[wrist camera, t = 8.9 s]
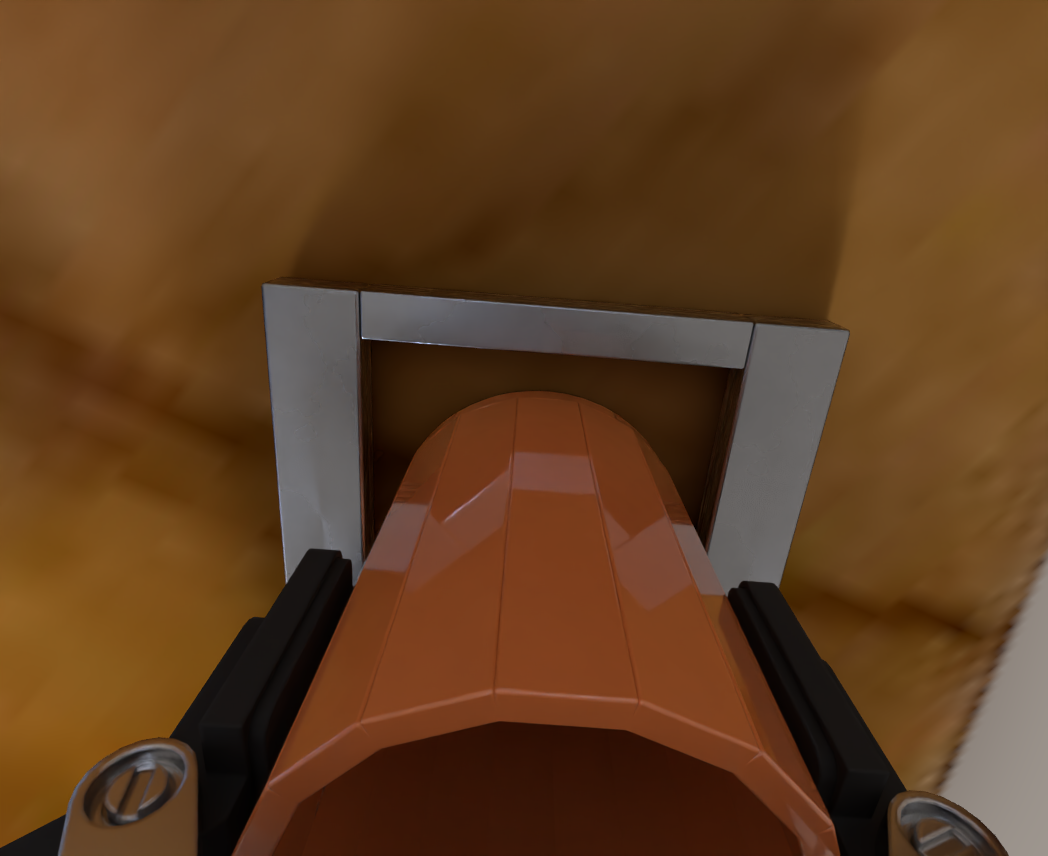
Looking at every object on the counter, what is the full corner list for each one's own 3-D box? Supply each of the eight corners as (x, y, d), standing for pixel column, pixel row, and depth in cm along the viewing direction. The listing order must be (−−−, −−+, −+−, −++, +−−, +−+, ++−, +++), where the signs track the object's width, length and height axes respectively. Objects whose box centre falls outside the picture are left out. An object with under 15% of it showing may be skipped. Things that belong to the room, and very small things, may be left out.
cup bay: (278, 275, 13) (258, 282, 12) (830, 320, 13) (853, 329, 12) (306, 659, 17) (292, 687, 16) (732, 690, 17) (744, 719, 16)
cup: (399, 378, 14) (194, 668, 6) (694, 401, 14) (934, 722, 6) (399, 619, 16) (257, 1071, 8) (649, 638, 16) (768, 1103, 8)
